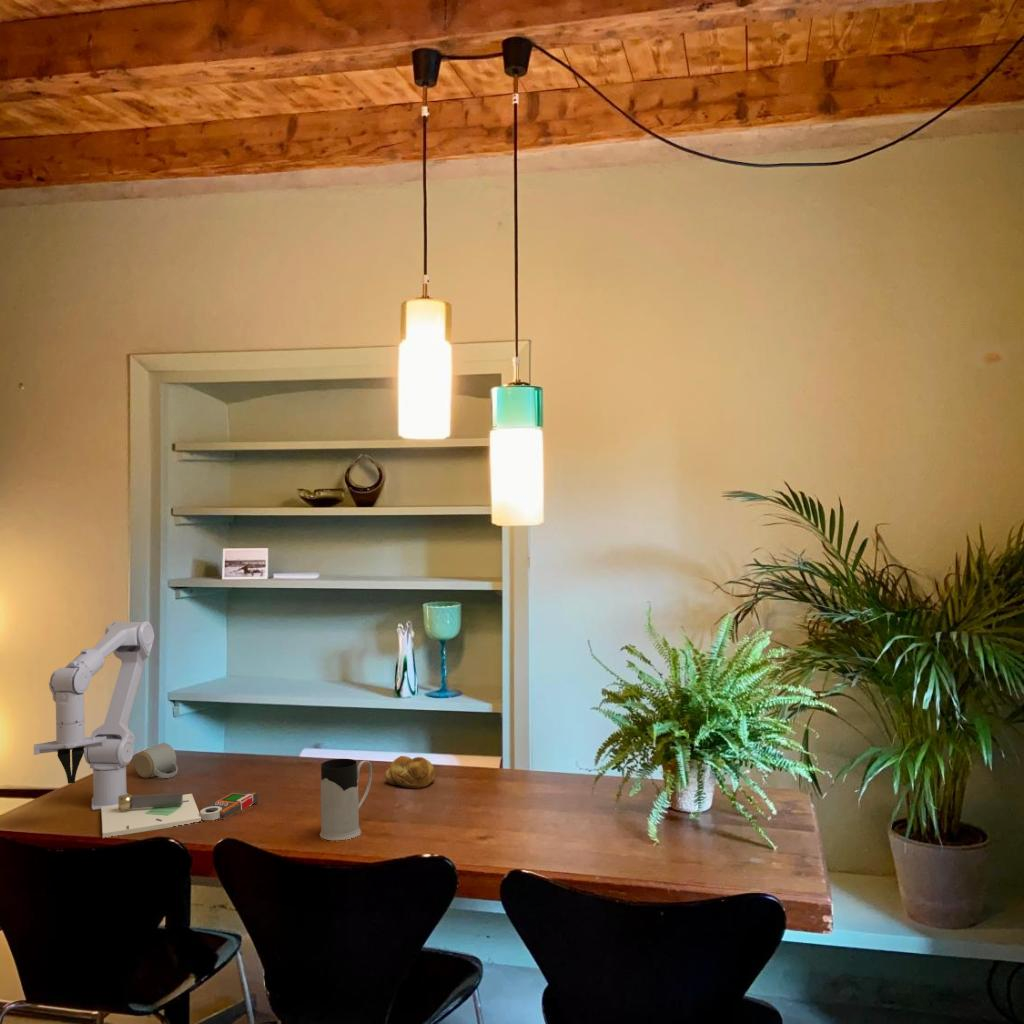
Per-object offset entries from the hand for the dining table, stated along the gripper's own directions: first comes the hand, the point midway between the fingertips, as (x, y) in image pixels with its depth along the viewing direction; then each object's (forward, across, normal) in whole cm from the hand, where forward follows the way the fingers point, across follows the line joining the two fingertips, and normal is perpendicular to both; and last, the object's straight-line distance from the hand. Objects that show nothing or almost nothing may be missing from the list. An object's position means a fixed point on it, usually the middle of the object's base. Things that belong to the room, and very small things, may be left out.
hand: (71, 782), depth 200 cm
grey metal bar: (+8, +16, -1) cm, 18 cm away
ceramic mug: (+10, +20, +32) cm, 39 cm away
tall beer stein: (+10, +54, -34) cm, 65 cm away
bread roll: (+10, +76, -9) cm, 77 cm away
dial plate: (+9, +16, -3) cm, 19 cm away
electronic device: (+10, +32, -8) cm, 35 cm away
